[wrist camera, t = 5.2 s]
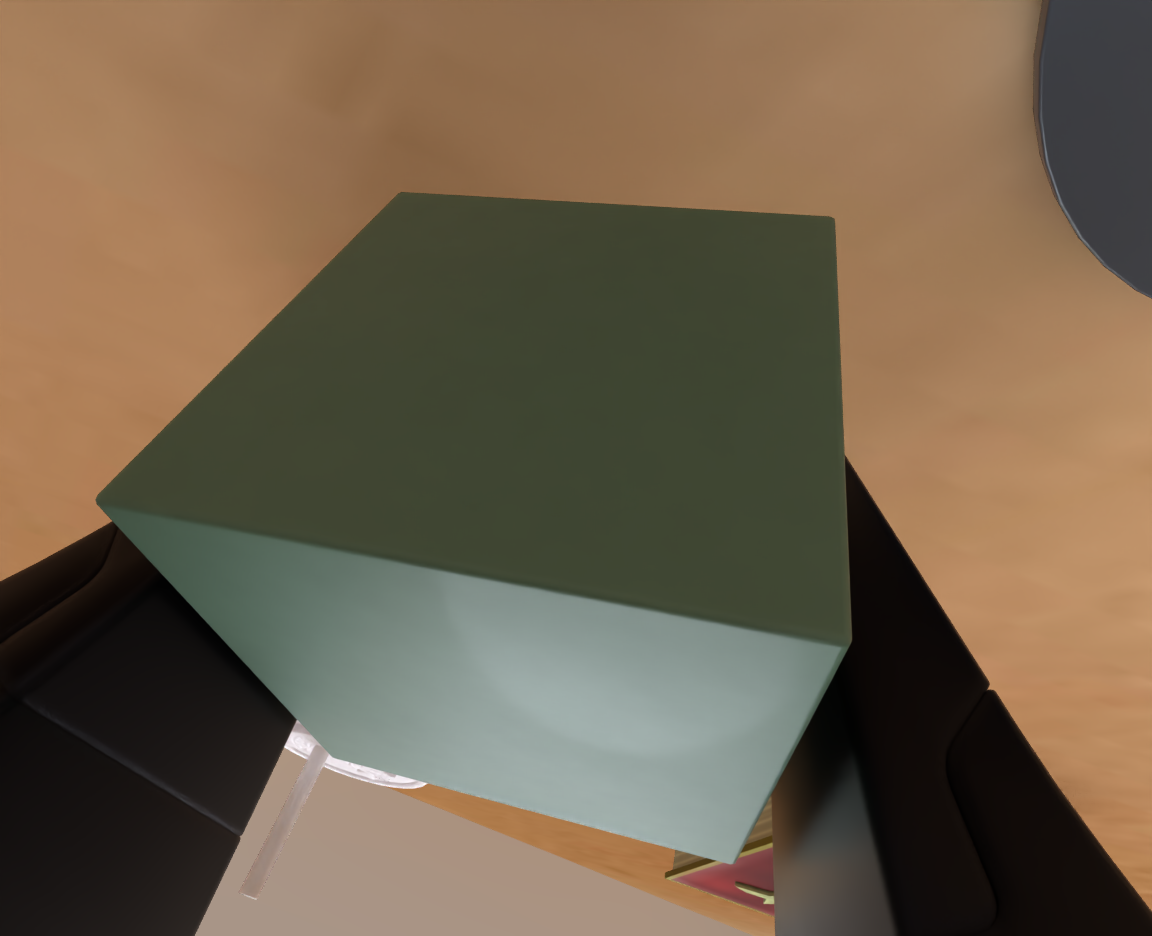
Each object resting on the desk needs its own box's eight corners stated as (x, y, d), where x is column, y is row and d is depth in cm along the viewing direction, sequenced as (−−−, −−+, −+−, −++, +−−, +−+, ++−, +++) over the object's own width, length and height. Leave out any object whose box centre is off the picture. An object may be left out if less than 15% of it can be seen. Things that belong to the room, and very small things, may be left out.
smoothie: (406, 451, 25) (160, 857, 15) (546, 531, 26) (399, 944, 17) (362, 522, 29) (153, 867, 20) (484, 587, 31) (342, 935, 21)
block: (471, 473, 11) (330, 758, 8) (398, 189, 8) (86, 499, 4) (762, 517, 10) (736, 867, 7) (837, 213, 7) (857, 645, 3)
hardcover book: (1024, 823, 34) (1042, 914, 32) (814, 872, 50) (814, 936, 47) (819, 747, 34) (819, 833, 31) (672, 821, 50) (664, 882, 47)
